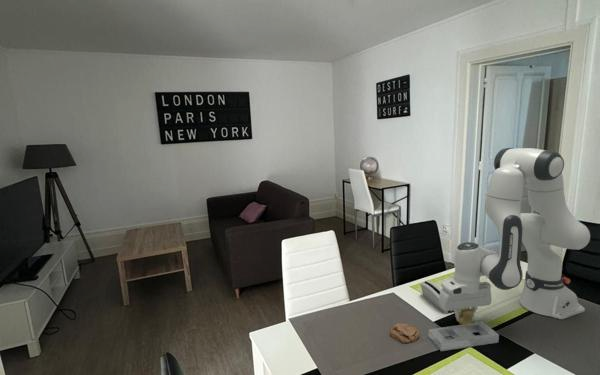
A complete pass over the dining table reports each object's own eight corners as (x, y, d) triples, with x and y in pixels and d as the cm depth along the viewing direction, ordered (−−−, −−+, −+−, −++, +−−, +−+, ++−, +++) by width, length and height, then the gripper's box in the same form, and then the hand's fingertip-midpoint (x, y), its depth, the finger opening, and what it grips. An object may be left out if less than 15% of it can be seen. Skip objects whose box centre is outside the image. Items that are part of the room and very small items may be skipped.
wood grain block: (465, 318, 126) (466, 305, 125) (472, 324, 122) (473, 310, 121) (456, 320, 126) (457, 306, 125) (462, 326, 122) (463, 311, 121)
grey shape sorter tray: (482, 328, 120) (482, 321, 119) (498, 342, 112) (499, 334, 111) (428, 336, 117) (428, 329, 116) (441, 351, 109) (441, 343, 108)
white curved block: (456, 312, 131) (450, 292, 129) (447, 317, 130) (440, 297, 128) (432, 292, 147) (426, 274, 145) (423, 297, 147) (417, 279, 144)
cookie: (424, 341, 115) (424, 334, 114) (397, 346, 113) (397, 338, 113) (410, 325, 124) (411, 318, 124) (385, 329, 123) (385, 322, 122)
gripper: (484, 277, 126) (482, 309, 128) (437, 283, 123) (436, 315, 125) (496, 284, 119) (494, 317, 122) (446, 291, 117) (445, 324, 119)
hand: (464, 316), depth 124 cm, fingers closed on wood grain block, 4 cm apart
